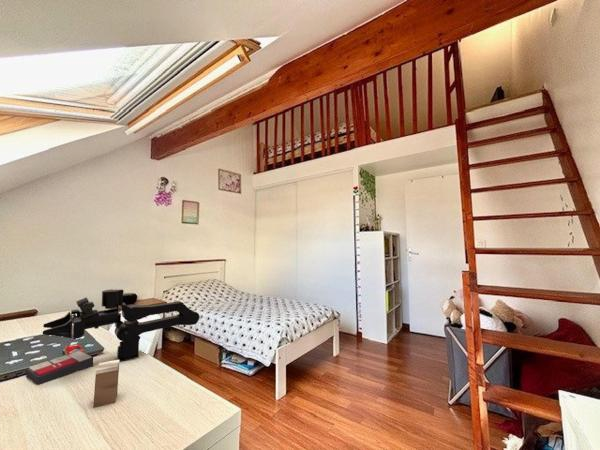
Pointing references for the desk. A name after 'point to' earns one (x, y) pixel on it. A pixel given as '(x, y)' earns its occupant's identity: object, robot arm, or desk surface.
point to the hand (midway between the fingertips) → (43, 329)
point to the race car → (72, 349)
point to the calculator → (59, 367)
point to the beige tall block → (106, 383)
